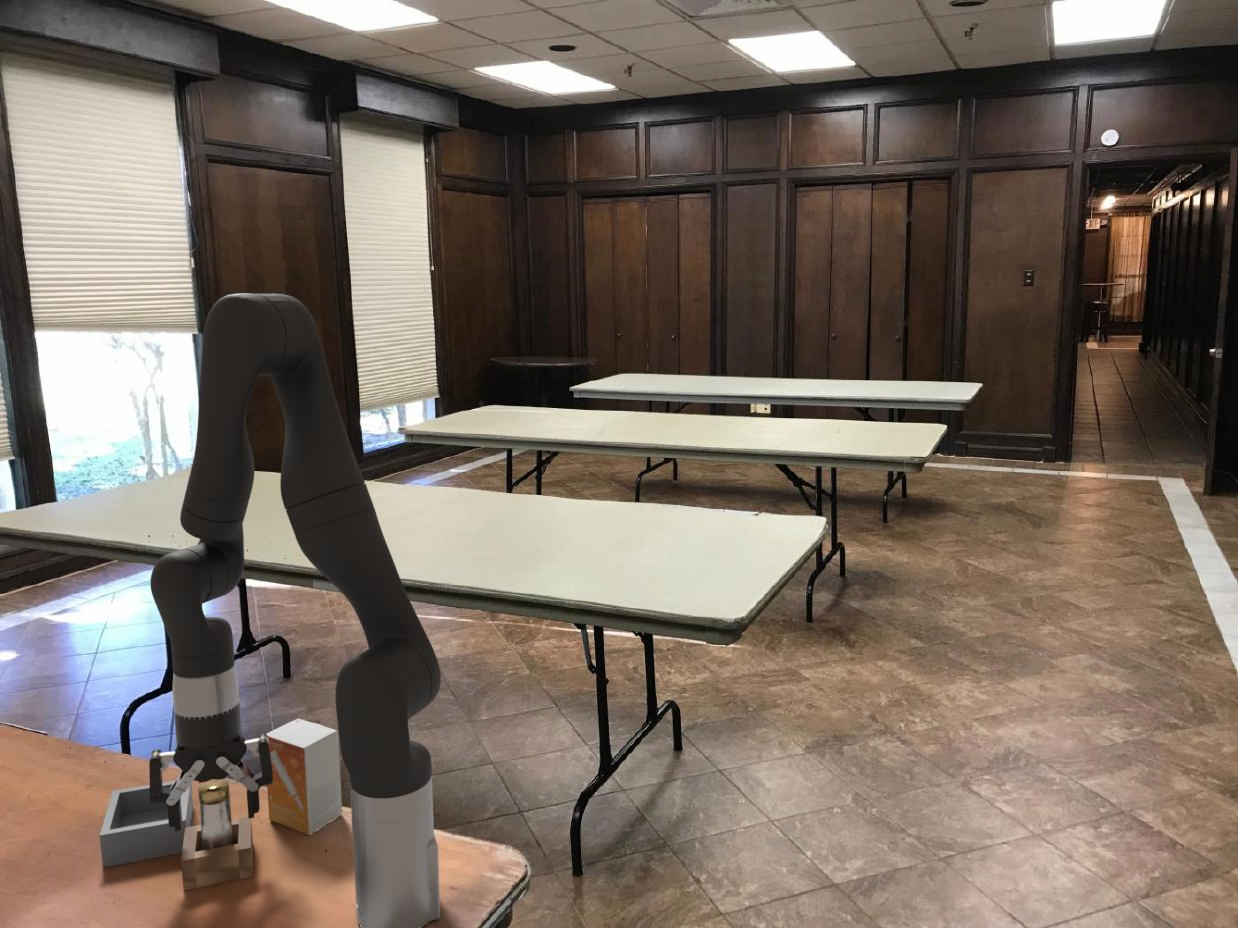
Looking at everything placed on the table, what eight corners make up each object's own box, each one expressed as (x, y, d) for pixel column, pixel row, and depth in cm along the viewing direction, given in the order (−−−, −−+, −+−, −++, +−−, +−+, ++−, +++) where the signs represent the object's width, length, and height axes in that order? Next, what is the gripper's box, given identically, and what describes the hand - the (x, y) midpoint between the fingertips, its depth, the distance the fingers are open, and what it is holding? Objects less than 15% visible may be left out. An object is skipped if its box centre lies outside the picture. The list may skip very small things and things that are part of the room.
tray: (193, 806, 135) (191, 777, 135) (188, 851, 124) (185, 820, 123) (115, 820, 132) (112, 790, 131) (102, 867, 121) (99, 835, 120)
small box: (268, 821, 132) (262, 734, 129) (303, 800, 137) (298, 716, 135) (309, 837, 128) (303, 747, 125) (344, 815, 133) (339, 729, 131)
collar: (252, 843, 126) (250, 815, 125) (252, 876, 119) (250, 847, 118) (187, 855, 123) (185, 827, 123) (183, 890, 116) (181, 860, 115)
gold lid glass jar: (234, 855, 123) (229, 777, 122) (234, 870, 120) (228, 790, 118) (205, 861, 122) (198, 782, 120) (203, 876, 119) (197, 796, 117)
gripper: (140, 723, 111) (151, 848, 114) (268, 705, 116) (275, 825, 119) (146, 698, 118) (156, 817, 121) (267, 682, 123) (274, 797, 126)
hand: (215, 821), depth 120 cm, fingers open, 8 cm apart
